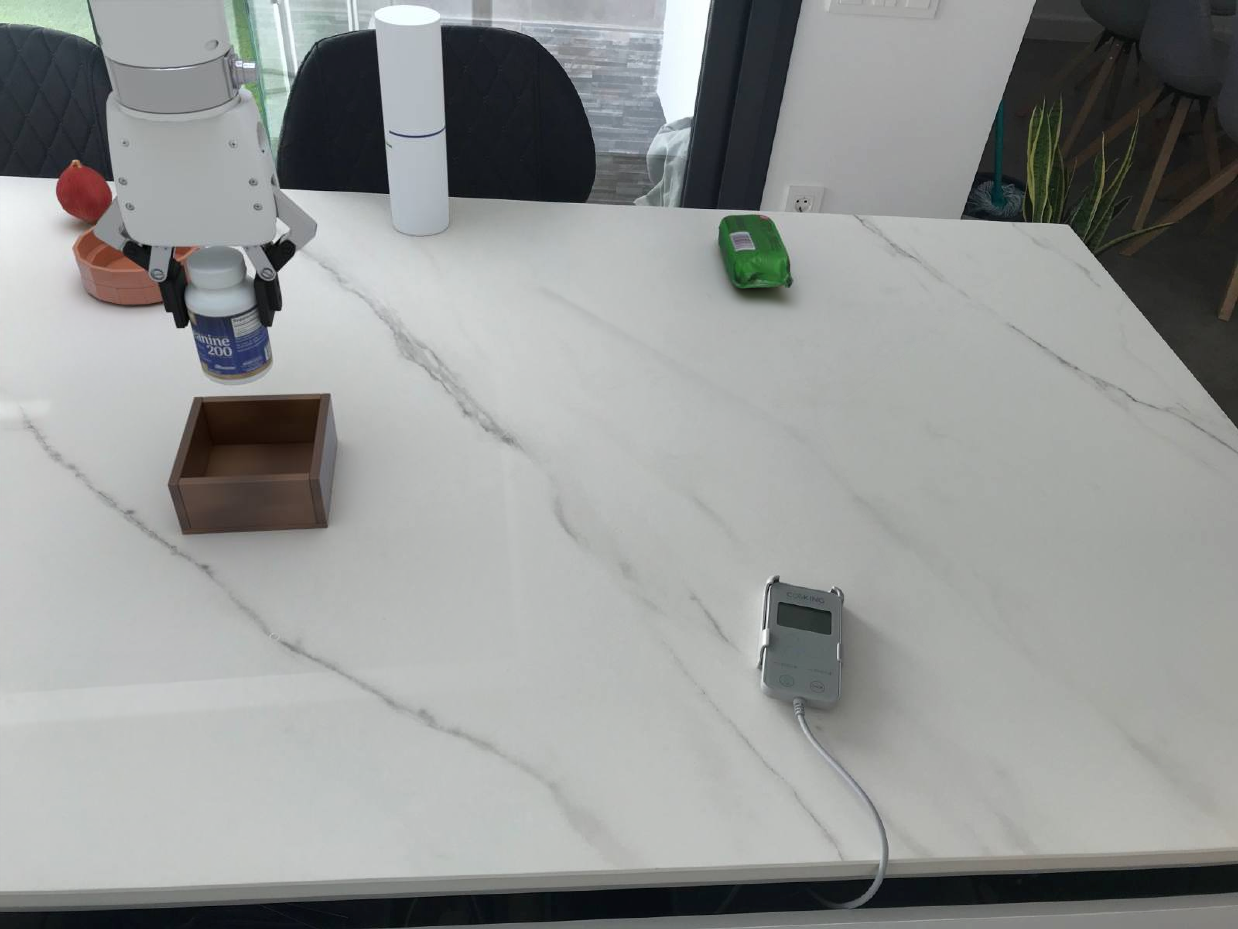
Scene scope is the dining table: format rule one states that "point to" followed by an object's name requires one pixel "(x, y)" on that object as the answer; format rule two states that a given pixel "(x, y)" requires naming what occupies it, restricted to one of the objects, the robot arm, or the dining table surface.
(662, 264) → the dining table surface
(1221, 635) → the dining table surface
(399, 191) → the cylindrical container
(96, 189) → the onion
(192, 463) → the holder
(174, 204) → the robot arm
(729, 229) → the snack package
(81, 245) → the bowl
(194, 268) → the pill bottle
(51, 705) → the dining table surface
